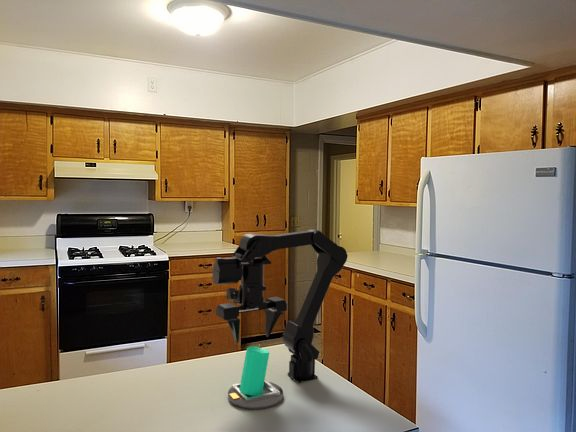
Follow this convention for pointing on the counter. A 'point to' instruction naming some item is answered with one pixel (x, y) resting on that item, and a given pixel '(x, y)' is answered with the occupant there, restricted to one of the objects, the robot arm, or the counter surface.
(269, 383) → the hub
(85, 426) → the counter surface
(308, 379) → the robot arm
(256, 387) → the candle
